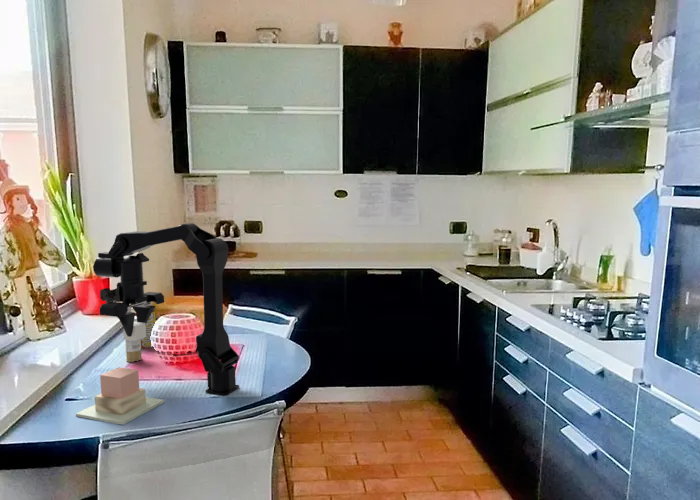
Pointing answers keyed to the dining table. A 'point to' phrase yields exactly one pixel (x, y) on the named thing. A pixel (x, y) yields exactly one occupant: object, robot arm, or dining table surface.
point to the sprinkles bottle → (133, 348)
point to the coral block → (119, 382)
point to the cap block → (137, 331)
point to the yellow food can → (147, 330)
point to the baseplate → (120, 419)
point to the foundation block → (120, 402)
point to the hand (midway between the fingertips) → (135, 334)
